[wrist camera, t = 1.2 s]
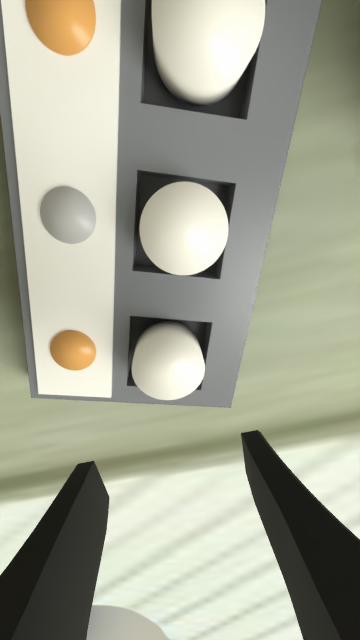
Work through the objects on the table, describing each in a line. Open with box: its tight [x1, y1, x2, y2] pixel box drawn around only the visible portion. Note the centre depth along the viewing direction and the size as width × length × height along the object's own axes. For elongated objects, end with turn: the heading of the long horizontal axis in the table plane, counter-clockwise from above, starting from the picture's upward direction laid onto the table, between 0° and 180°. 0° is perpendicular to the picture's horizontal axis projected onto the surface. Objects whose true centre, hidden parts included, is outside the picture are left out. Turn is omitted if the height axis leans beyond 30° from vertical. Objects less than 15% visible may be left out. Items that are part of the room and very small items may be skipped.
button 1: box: [152, 0, 265, 106], centre depth 12 cm, size 4×4×2 cm
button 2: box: [139, 181, 228, 275], centre depth 14 cm, size 4×4×2 cm
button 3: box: [132, 321, 205, 400], centre depth 17 cm, size 4×4×2 cm
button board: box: [0, 0, 322, 408], centre depth 16 cm, size 14×24×2 cm, turn 174°
